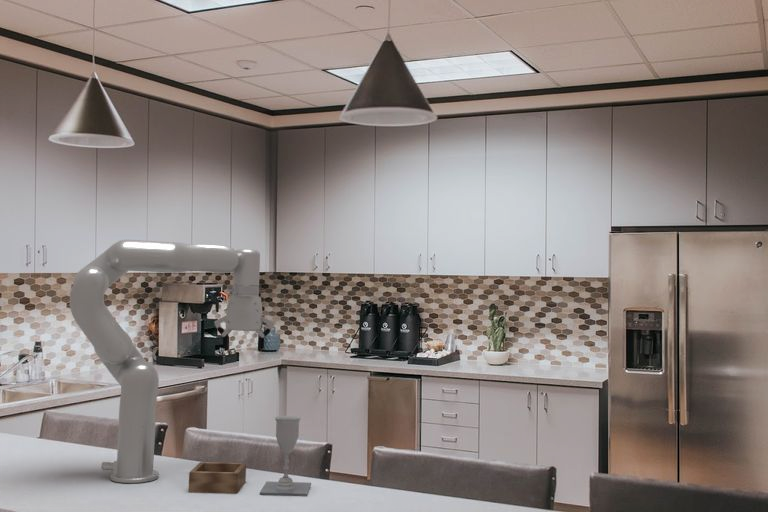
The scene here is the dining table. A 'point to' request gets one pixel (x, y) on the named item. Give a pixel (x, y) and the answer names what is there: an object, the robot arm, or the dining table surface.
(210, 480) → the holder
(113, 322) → the robot arm
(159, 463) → the dining table surface
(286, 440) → the chalice
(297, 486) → the coaster
